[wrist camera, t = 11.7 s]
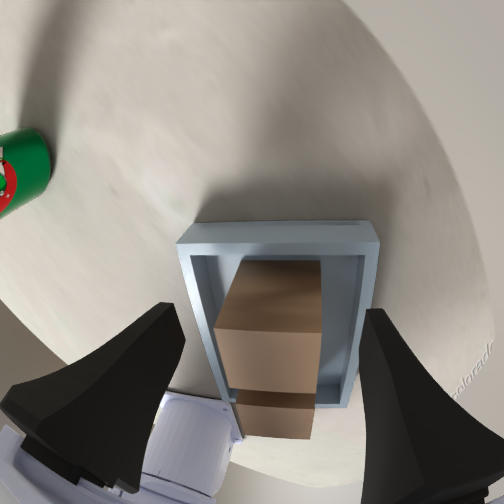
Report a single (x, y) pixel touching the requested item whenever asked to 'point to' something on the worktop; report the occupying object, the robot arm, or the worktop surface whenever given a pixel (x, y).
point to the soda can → (22, 168)
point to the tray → (288, 248)
